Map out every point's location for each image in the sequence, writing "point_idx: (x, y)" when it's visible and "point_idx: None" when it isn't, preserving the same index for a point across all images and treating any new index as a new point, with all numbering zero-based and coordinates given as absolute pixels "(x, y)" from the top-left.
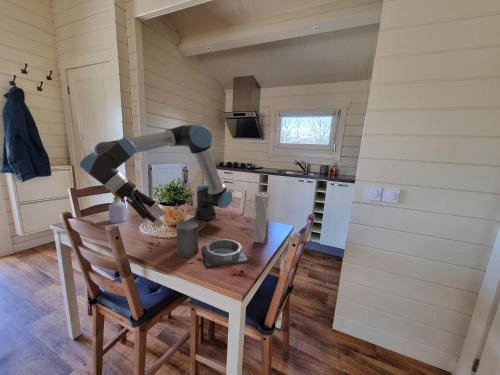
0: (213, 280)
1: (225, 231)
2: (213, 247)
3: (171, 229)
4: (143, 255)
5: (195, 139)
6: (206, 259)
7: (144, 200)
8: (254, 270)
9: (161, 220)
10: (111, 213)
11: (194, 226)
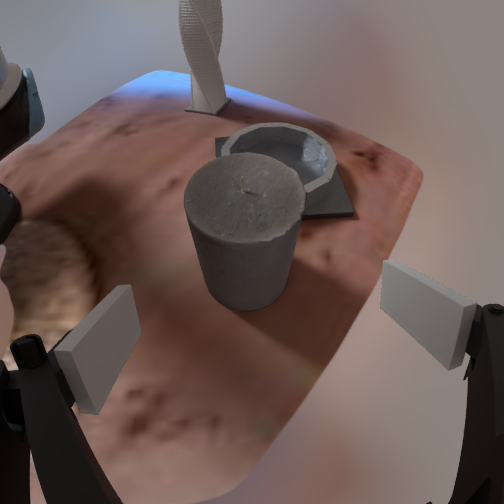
0: (402, 206)
1: (115, 166)
2: None
3: None
4: (251, 443)
5: None
6: (319, 211)
7: (113, 498)
8: (352, 136)
9: (394, 267)
10: None
11: (273, 163)
